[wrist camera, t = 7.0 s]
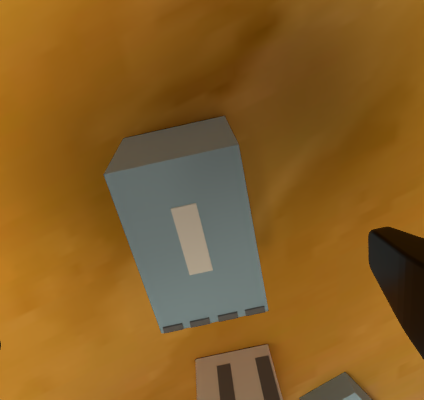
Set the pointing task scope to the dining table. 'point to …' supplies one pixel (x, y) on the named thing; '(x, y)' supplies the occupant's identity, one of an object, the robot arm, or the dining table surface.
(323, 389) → the torn stub
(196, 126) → the stub
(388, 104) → the dining table surface
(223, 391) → the block
